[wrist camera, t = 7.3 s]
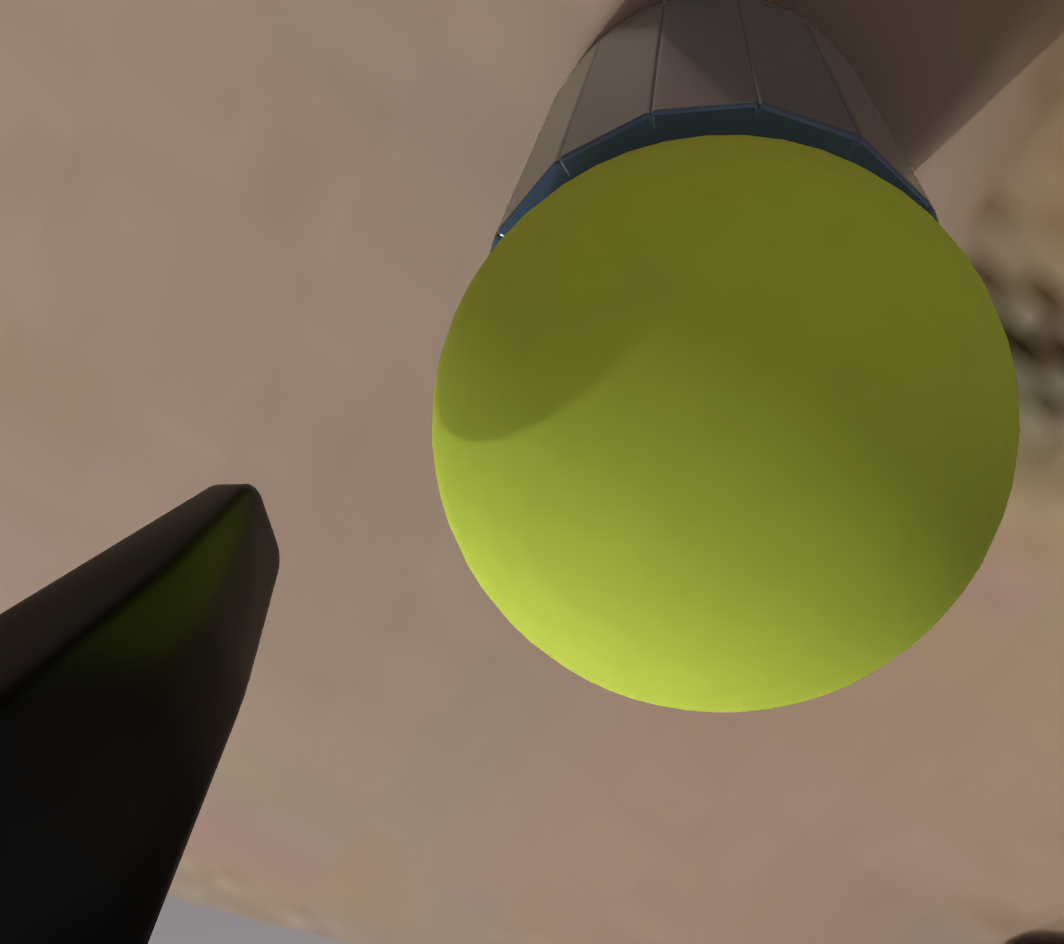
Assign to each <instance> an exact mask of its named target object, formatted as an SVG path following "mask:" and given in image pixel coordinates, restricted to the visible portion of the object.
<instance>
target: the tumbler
mask: <svg viewBox="0 0 1064 944" xmlns="http://www.w3.org/2000/svg"><path fill="white" fill-rule="evenodd" d="M705 135H749V136H757V137H766V138H774V139H782V140H787V141H791V142H795V143H798V144H802V145H806V146H810V147H814V148H817V149H821V150H824V151H826V152H829V153H831V154H833V155H836V156H838V157H841V158H843V159H845V160H848V161H850V162H853V163H855V164H857V165H859V166H861V167H863V168H865V169H866V170H868V171H870V172H872V173H873V174H875V175H877V176H878V177H880V178H882V179H883V180H885V181H887V182H888V183H890V184H892V185H893V186H895V187H897V188H898V189H900V190H901V191H903V192H904V193H905V194H906V195H908V196H909V197H910V198H911V199H912V200H914V201H915V202H916V203H917V204H918V205H920V206H921V207H922V208H923V209H924V210H926V211H927V212H928V213H929V214H931V215H932V217H933V218H934V219H935V220H936V221H937V222H938V223H939V221H938V218H937V215H936V212H935V210H934V208H933V206H932V204H931V203H930V201H929V199H928V197H927V196H926V194H925V192H924V190H923V189H922V187H921V185H920V183H919V182H918V180H917V178H916V176H915V174H914V173H913V171H912V169H911V167H910V166H909V164H908V162H907V160H906V159H905V157H904V155H903V153H902V152H901V150H900V148H899V146H898V145H897V143H896V141H895V139H894V138H893V136H892V134H891V132H890V131H889V129H888V127H887V125H886V124H885V122H884V120H883V118H882V117H881V115H880V113H879V111H878V110H877V108H876V106H875V104H874V103H873V101H872V99H871V97H870V96H869V94H868V92H867V90H866V89H865V87H864V85H863V83H862V82H861V80H860V78H859V76H858V75H857V73H856V72H855V70H854V68H853V66H852V65H851V64H850V63H849V62H848V61H847V60H846V59H845V58H844V57H843V56H842V55H841V53H840V52H839V51H838V50H837V48H836V47H835V46H834V45H833V44H832V43H831V42H830V40H829V39H828V38H827V37H826V36H825V35H824V34H823V33H821V32H820V31H819V30H818V29H817V28H816V27H814V26H813V25H812V24H811V23H810V22H808V21H807V20H805V19H804V18H802V17H800V16H799V15H797V14H796V13H794V12H792V11H791V10H789V9H786V8H784V7H782V6H779V5H777V4H775V3H772V2H770V1H767V0H667V1H664V2H660V3H657V4H654V5H652V6H650V7H648V8H646V9H644V10H642V11H640V12H637V13H635V14H633V15H632V16H630V17H629V18H627V19H626V20H624V21H623V22H621V23H619V24H618V25H616V26H615V27H613V28H612V29H611V30H610V31H609V32H608V33H606V34H605V35H604V36H603V37H602V38H601V39H599V40H598V41H597V42H596V43H595V44H594V45H593V46H592V47H591V49H590V50H589V51H588V52H587V53H586V54H585V55H584V56H583V57H582V59H581V60H580V61H579V63H578V64H577V66H576V67H575V68H574V70H573V71H572V73H571V74H570V76H569V77H568V79H567V81H566V83H565V84H564V85H563V86H562V88H561V89H560V90H559V92H558V94H557V96H556V98H555V99H554V102H553V104H552V106H551V108H550V111H549V113H548V115H547V118H546V120H545V122H544V124H543V127H542V129H541V131H540V134H539V136H538V138H537V140H536V143H535V145H534V147H533V150H532V152H531V154H530V156H529V159H528V161H527V163H526V166H525V168H524V170H523V172H522V175H521V177H520V179H519V182H518V184H517V186H516V188H515V191H514V193H513V195H512V198H511V200H510V202H509V204H508V207H507V209H506V211H505V214H504V216H503V218H502V220H501V223H500V225H499V227H498V230H497V232H496V234H495V236H494V240H493V244H492V247H491V251H490V253H491V252H492V251H493V249H494V248H495V246H496V245H497V244H498V242H499V241H500V240H501V239H502V238H503V237H504V235H505V234H506V233H507V232H508V231H509V230H510V229H511V228H512V227H513V226H514V225H515V224H516V223H517V222H518V221H519V220H520V219H521V218H522V217H523V216H524V215H525V214H526V213H527V212H529V211H530V210H531V209H532V208H534V207H535V206H536V205H537V204H539V203H540V202H541V201H543V200H544V199H545V198H546V197H548V196H549V195H550V194H551V193H553V192H554V191H555V190H557V189H558V188H559V187H561V186H562V185H563V184H565V183H567V182H568V181H570V180H572V179H573V178H575V177H577V176H578V175H580V174H582V173H584V172H585V171H587V170H589V169H590V168H592V167H594V166H596V165H598V164H601V163H603V162H605V161H608V160H610V159H612V158H615V157H617V156H619V155H622V154H624V153H627V152H629V151H632V150H636V149H639V148H643V147H647V146H650V145H654V144H657V143H661V142H665V141H670V140H677V139H684V138H691V137H698V136H705ZM939 225H940V224H939ZM489 255H490V254H489Z"/></svg>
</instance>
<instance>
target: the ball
mask: <svg viewBox="0 0 1064 944" xmlns="http://www.w3.org/2000/svg"><path fill="white" fill-rule="evenodd" d="M1019 432H1020V428H1019V408H1018V393H1017V383H1016V374H1015V369H1014V365H1013V360H1012V356H1011V352H1010V347H1009V343H1008V339H1007V337H1006V334H1005V332H1004V329H1003V327H1002V324H1001V322H1000V319H999V317H998V314H997V312H996V309H995V307H994V305H993V302H992V300H991V297H990V295H989V293H988V290H987V288H986V286H985V285H984V283H983V281H982V280H981V278H980V277H979V275H978V274H977V272H976V270H975V269H974V267H973V266H972V264H971V262H970V261H969V259H968V258H967V256H966V255H965V254H964V252H963V251H962V250H961V249H960V248H959V246H958V245H957V244H956V243H955V242H954V240H953V239H952V238H951V237H950V236H949V235H948V234H947V232H946V231H945V230H944V229H943V228H942V227H941V226H940V225H939V223H938V222H937V221H936V220H935V219H934V218H933V217H932V215H931V214H929V213H928V212H927V211H926V210H924V209H923V208H922V207H921V206H920V205H918V204H917V203H916V202H915V201H914V200H912V199H911V198H910V197H909V196H908V195H906V194H905V193H904V192H903V191H901V190H900V189H898V188H897V187H895V186H893V185H892V184H890V183H888V182H887V181H885V180H883V179H882V178H880V177H878V176H877V175H875V174H873V173H872V172H870V171H868V170H866V169H865V168H863V167H861V166H859V165H857V164H855V163H853V162H850V161H848V160H845V159H843V158H841V157H838V156H836V155H833V154H831V153H829V152H826V151H824V150H821V149H817V148H814V147H810V146H806V145H802V144H798V143H795V142H791V141H787V140H782V139H774V138H766V137H757V136H749V135H705V136H698V137H691V138H684V139H677V140H670V141H665V142H661V143H657V144H654V145H650V146H647V147H643V148H639V149H636V150H632V151H629V152H627V153H624V154H622V155H619V156H617V157H615V158H612V159H610V160H608V161H605V162H603V163H601V164H598V165H596V166H594V167H592V168H590V169H589V170H587V171H585V172H584V173H582V174H580V175H578V176H577V177H575V178H573V179H572V180H570V181H568V182H567V183H565V184H563V185H562V186H561V187H559V188H558V189H557V190H555V191H554V192H553V193H551V194H550V195H549V196H548V197H546V198H545V199H544V200H543V201H541V202H540V203H539V204H537V205H536V206H535V207H534V208H532V209H531V210H530V211H529V212H527V213H526V214H525V215H524V216H523V217H522V218H521V219H520V220H519V221H518V222H517V223H516V224H515V225H514V226H513V227H512V228H511V229H510V230H509V231H508V232H507V233H506V234H505V235H504V237H503V238H502V239H501V240H500V241H499V242H498V244H497V245H496V246H495V248H494V249H493V251H492V252H491V253H490V255H489V256H488V257H487V259H486V260H485V262H484V263H483V264H482V266H481V267H480V269H479V270H478V272H477V273H476V275H475V276H474V278H473V280H472V281H471V283H470V285H469V287H468V289H467V291H466V292H465V294H464V296H463V298H462V300H461V302H460V304H459V306H458V308H457V310H456V312H455V314H454V317H453V320H452V323H451V326H450V329H449V332H448V335H447V338H446V341H445V344H444V347H443V350H442V354H441V357H440V360H439V365H438V371H437V376H436V382H435V387H434V394H433V420H432V448H433V455H434V463H435V471H436V477H437V482H438V487H439V492H440V496H441V499H442V503H443V506H444V510H445V513H446V517H447V520H448V523H449V525H450V527H451V529H452V532H453V534H454V536H455V538H456V540H457V543H458V545H459V547H460V549H461V551H462V554H463V556H464V558H465V560H466V562H467V565H468V566H469V568H470V569H471V571H472V573H473V574H474V576H475V577H476V579H477V581H478V582H479V584H480V585H481V587H482V588H483V590H484V591H485V592H486V593H487V595H488V596H489V597H490V598H491V600H492V601H493V602H494V603H495V605H496V606H497V607H498V608H499V609H500V611H501V612H502V613H503V614H504V615H505V617H506V618H507V619H508V620H509V622H510V623H511V624H512V625H513V626H514V627H515V628H516V629H517V630H519V631H520V632H521V633H522V634H523V635H524V636H525V637H526V638H527V639H528V640H529V641H530V642H531V643H533V644H534V645H535V646H537V647H538V648H539V649H541V650H542V651H543V652H545V653H546V654H547V655H549V656H550V657H551V658H553V659H554V660H556V661H557V662H559V663H560V664H561V665H563V666H564V667H566V668H567V669H569V670H571V671H573V672H574V673H576V674H578V675H579V676H581V677H583V678H584V679H586V680H588V681H590V682H592V683H595V684H597V685H599V686H601V687H603V688H605V689H607V690H610V691H612V692H615V693H618V694H621V695H624V696H627V697H629V698H632V699H635V700H639V701H643V702H647V703H651V704H655V705H659V706H664V707H671V708H677V709H683V710H690V711H704V712H744V711H753V710H763V709H771V708H776V707H781V706H786V705H792V704H797V703H800V702H803V701H807V700H810V699H814V698H817V697H820V696H823V695H826V694H828V693H831V692H833V691H836V690H838V689H841V688H843V687H846V686H848V685H850V684H852V683H854V682H856V681H858V680H860V679H861V678H863V677H865V676H867V675H869V674H871V673H873V672H874V671H876V670H877V669H879V668H880V667H882V666H883V665H885V664H886V663H888V662H889V661H891V660H892V659H894V658H895V657H896V656H898V655H899V654H901V653H902V652H904V651H905V650H907V649H908V648H910V647H911V646H912V645H913V644H914V643H915V642H917V641H918V640H919V639H920V638H921V637H922V636H923V635H925V634H926V633H927V632H928V631H929V630H930V629H931V628H932V627H933V626H934V625H935V624H936V623H937V622H938V621H939V619H940V618H941V617H942V616H943V615H944V614H945V613H946V612H947V610H948V609H949V608H950V607H951V606H952V605H953V603H954V602H955V601H956V600H957V599H958V597H959V596H960V595H961V594H962V592H963V591H964V590H965V588H966V587H967V585H968V584H969V582H970V581H971V579H972V578H973V576H974V575H975V573H976V572H977V570H978V569H979V567H980V566H981V564H982V562H983V559H984V557H985V555H986V553H987V551H988V549H989V547H990V545H991V543H992V540H993V538H994V536H995V534H996V532H997V529H998V527H999V525H1000V523H1001V521H1002V518H1003V515H1004V512H1005V509H1006V505H1007V502H1008V498H1009V495H1010V492H1011V488H1012V483H1013V477H1014V471H1015V465H1016V457H1017V449H1018V441H1019Z"/></svg>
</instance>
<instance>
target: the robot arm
mask: <svg viewBox="0 0 1064 944" xmlns="http://www.w3.org/2000/svg"><path fill="white" fill-rule="evenodd" d="M278 569H279V549H278V545H277V542H276V539H275V536H274V533H273V530H272V527H271V524H270V521H269V519H268V516H267V513H266V510H265V507H264V504H263V501H262V498H261V496H260V494H259V492H258V491H257V489H256V488H254V487H253V486H251V485H249V484H221V485H214V486H211V487H209V488H207V489H206V490H204V491H202V492H201V493H199V494H198V495H196V496H194V497H193V498H191V499H189V500H188V501H186V502H184V503H183V504H181V505H179V506H178V507H176V508H174V509H173V510H171V511H170V512H168V513H166V514H165V515H163V516H161V517H160V518H158V519H156V520H155V521H153V522H151V523H150V524H148V525H146V526H145V527H143V528H142V529H140V530H138V531H137V532H135V533H133V534H132V535H130V536H128V537H127V538H125V539H123V540H122V541H120V542H118V543H117V544H115V545H114V546H112V547H110V548H109V549H107V550H105V551H104V552H102V553H100V554H99V555H97V556H95V557H94V558H92V559H90V560H89V561H87V562H86V563H84V564H82V565H81V566H79V567H77V568H76V569H74V570H72V571H71V572H69V573H67V574H66V575H64V576H62V577H61V578H59V579H58V580H56V581H54V582H53V583H51V584H49V585H48V586H46V587H44V588H43V589H41V590H39V591H38V592H36V593H34V594H33V595H31V596H30V597H28V598H26V599H25V600H23V601H21V602H20V603H18V604H16V605H15V606H13V607H11V608H10V609H8V610H6V611H5V612H3V613H2V614H0V944H148V941H149V939H150V936H151V934H152V931H153V929H154V926H155V923H156V921H157V918H158V916H159V913H160V911H161V908H162V906H163V903H164V901H165V898H166V895H167V893H168V890H169V888H170V885H171V883H172V880H173V878H174V875H175V873H176V870H177V868H178V865H179V862H180V860H181V857H182V855H183V852H184V850H185V847H186V845H187V842H188V840H189V837H190V834H191V832H192V829H193V827H194V824H195V822H196V819H197V817H198V814H199V812H200V809H201V806H202V804H203V801H204V799H205V796H206V794H207V791H208V789H209V786H210V784H211V781H212V778H213V776H214V773H215V771H216V768H217V766H218V763H219V761H220V758H221V756H222V753H223V750H224V748H225V745H226V743H227V740H228V738H229V735H230V733H231V730H232V728H233V725H234V723H235V720H236V717H237V715H238V712H239V709H240V706H241V704H242V701H243V698H244V695H245V692H246V688H247V685H248V682H249V679H250V675H251V671H252V668H253V664H254V660H255V656H256V653H257V649H258V645H259V641H260V638H261V634H262V630H263V626H264V623H265V619H266V615H267V611H268V607H269V604H270V600H271V596H272V592H273V589H274V585H275V581H276V577H277V574H278Z"/></svg>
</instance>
